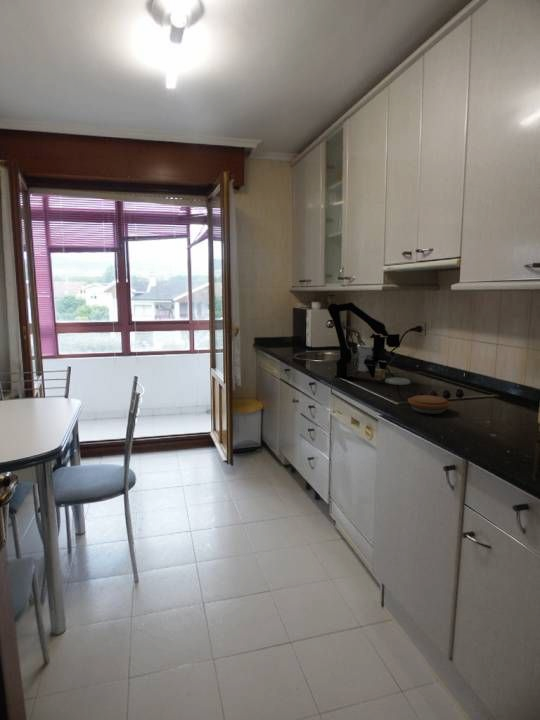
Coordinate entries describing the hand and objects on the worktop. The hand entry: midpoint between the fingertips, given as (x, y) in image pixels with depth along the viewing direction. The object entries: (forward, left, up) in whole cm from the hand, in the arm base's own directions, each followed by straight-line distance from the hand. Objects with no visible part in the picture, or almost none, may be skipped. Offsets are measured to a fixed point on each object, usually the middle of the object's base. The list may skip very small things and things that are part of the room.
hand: (377, 376), depth 233 cm
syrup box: (+15, +18, -1) cm, 23 cm away
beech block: (0, 0, -1) cm, 1 cm away
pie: (-40, -47, -2) cm, 62 cm away
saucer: (-1, -12, -1) cm, 12 cm away
